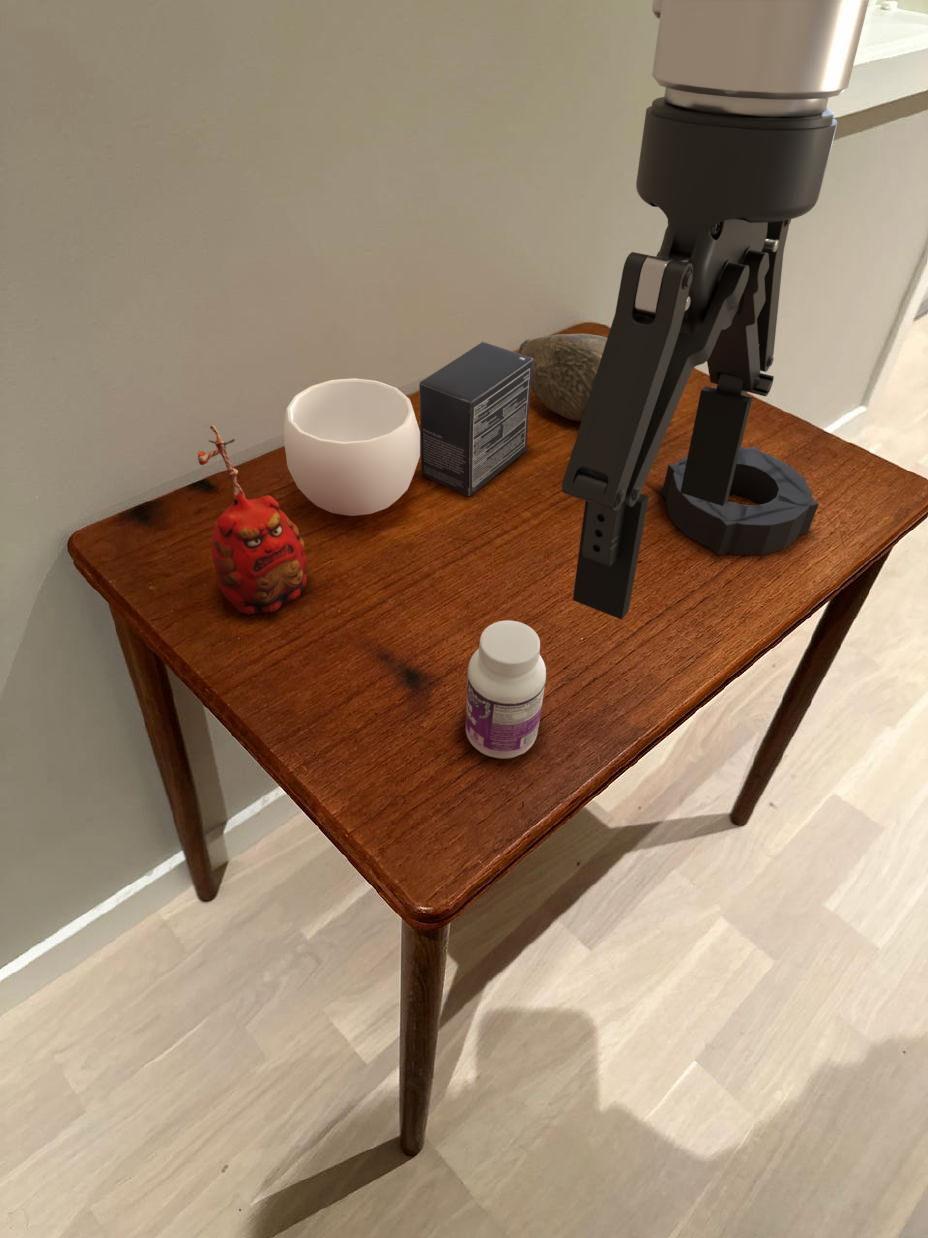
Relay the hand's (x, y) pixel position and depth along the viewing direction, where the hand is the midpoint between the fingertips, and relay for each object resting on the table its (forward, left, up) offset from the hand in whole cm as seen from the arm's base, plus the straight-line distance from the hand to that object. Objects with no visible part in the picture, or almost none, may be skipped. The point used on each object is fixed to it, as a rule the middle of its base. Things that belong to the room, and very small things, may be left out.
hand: (656, 547), depth 48 cm
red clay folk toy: (+26, +19, -20) cm, 38 cm away
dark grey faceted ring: (+22, -26, -20) cm, 40 cm away
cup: (+36, +8, -20) cm, 42 cm away
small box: (+38, -5, -20) cm, 44 cm away
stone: (+44, -20, -20) cm, 53 cm away
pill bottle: (+5, +6, -20) cm, 22 cm away
